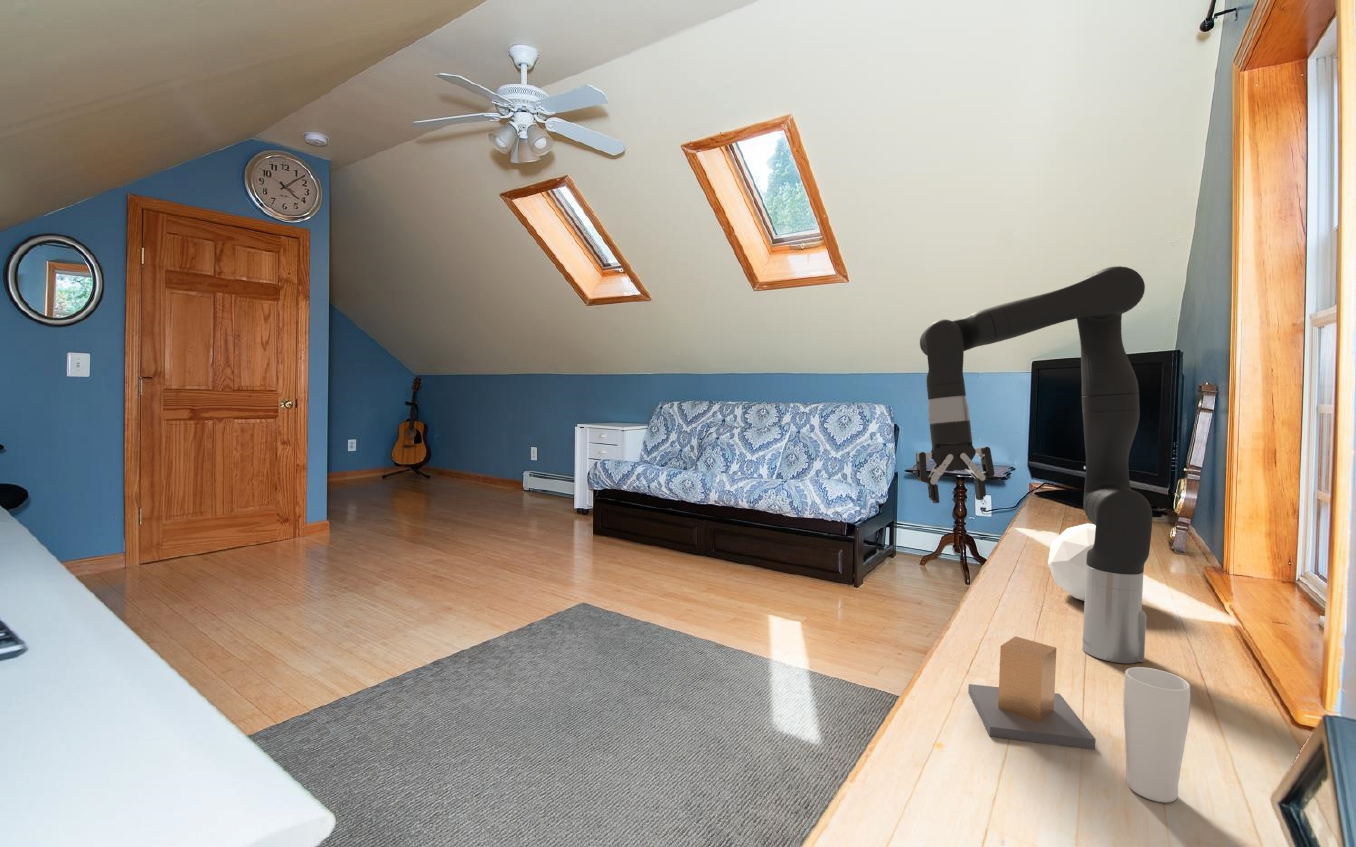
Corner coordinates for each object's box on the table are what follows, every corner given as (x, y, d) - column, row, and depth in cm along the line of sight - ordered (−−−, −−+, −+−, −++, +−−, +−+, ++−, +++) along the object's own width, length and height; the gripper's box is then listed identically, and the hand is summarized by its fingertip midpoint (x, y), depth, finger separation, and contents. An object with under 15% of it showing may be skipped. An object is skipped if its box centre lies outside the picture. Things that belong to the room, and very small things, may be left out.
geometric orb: (1093, 621, 160) (1125, 555, 164) (1140, 621, 141) (1176, 546, 145) (1021, 579, 164) (1054, 515, 169) (1058, 572, 145) (1095, 501, 150)
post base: (1059, 702, 104) (1061, 658, 103) (1095, 749, 90) (1097, 698, 90) (968, 692, 107) (969, 649, 107) (989, 736, 93) (991, 687, 93)
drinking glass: (1106, 776, 84) (1111, 666, 83) (1153, 774, 84) (1159, 665, 84) (1148, 810, 77) (1154, 691, 76) (1199, 807, 78) (1205, 689, 77)
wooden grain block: (1013, 695, 103) (1015, 636, 102) (1053, 710, 98) (1056, 647, 98) (998, 707, 99) (1000, 645, 98) (1039, 723, 94) (1042, 658, 94)
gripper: (918, 422, 122) (927, 505, 122) (993, 416, 121) (1003, 500, 121) (907, 424, 130) (915, 502, 129) (978, 418, 129) (986, 497, 128)
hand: (958, 501), depth 125 cm, fingers open, 8 cm apart
